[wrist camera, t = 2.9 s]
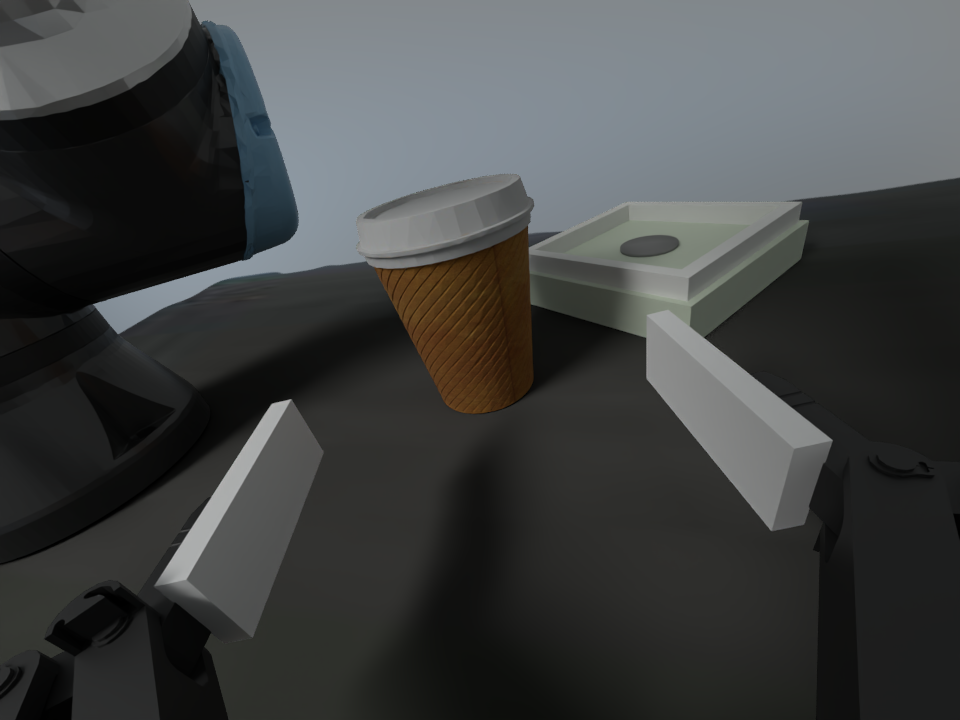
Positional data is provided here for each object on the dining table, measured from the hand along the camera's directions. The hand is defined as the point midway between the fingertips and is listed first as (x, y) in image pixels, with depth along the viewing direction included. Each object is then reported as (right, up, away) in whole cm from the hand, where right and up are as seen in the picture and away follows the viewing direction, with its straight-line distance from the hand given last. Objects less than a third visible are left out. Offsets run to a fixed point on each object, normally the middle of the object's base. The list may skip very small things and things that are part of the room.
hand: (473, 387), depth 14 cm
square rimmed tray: (+15, +8, +19) cm, 25 cm away
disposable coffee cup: (+1, -1, +12) cm, 12 cm away
